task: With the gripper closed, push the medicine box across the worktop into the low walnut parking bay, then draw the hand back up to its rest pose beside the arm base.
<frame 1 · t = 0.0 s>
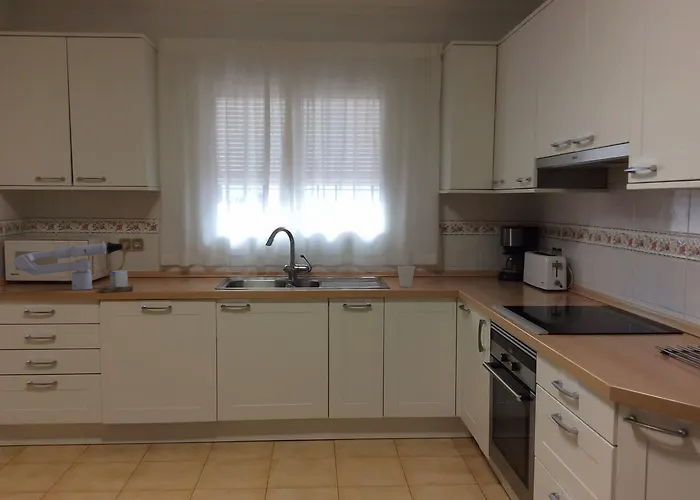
hand: (121, 246, 319), 22 cm above the countertop, tool horizontal, fingers open, 7 cm apart
cup: (405, 287, 327), on the countertop
parking bay: (118, 290, 311), on the countertop
medicine box: (119, 287, 321), on the countertop
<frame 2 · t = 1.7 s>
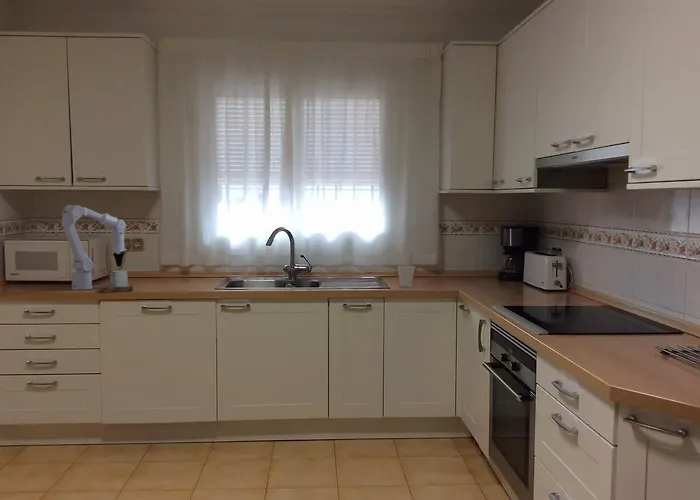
hand: (119, 265, 329), 10 cm above the countertop, tool pointing down, fingers open, 6 cm apart
nothing on the countertop moved.
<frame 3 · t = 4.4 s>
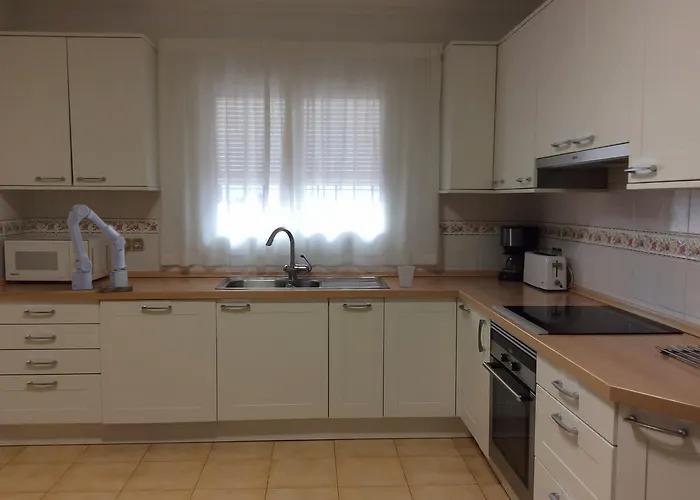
hand: (119, 282, 327), 2 cm above the countertop, tool pointing down, fingers closed
medicine box: (119, 287, 321), on the countertop, touching gripper
everything else where it was.
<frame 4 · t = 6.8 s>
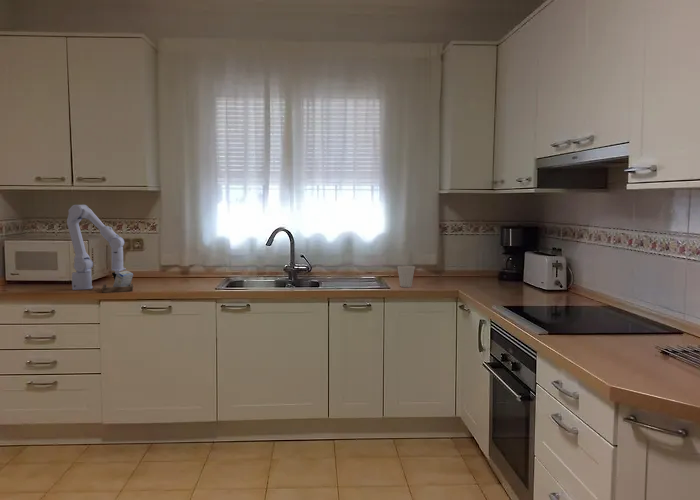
hand: (118, 285, 315), 2 cm above the countertop, tool pointing down, fingers closed, pressing on medicine box
medicine box: (121, 288, 313), point 1 cm above the countertop, touching gripper, parking bay
everything else where it was.
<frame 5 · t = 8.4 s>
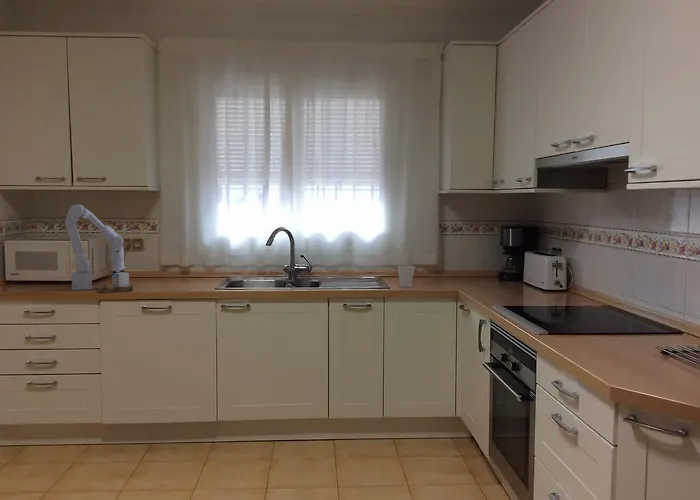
hand: (119, 284, 320), 2 cm above the countertop, tool pointing down, fingers closed
medicine box: (121, 290, 313), resting in parking bay
everything else where it was.
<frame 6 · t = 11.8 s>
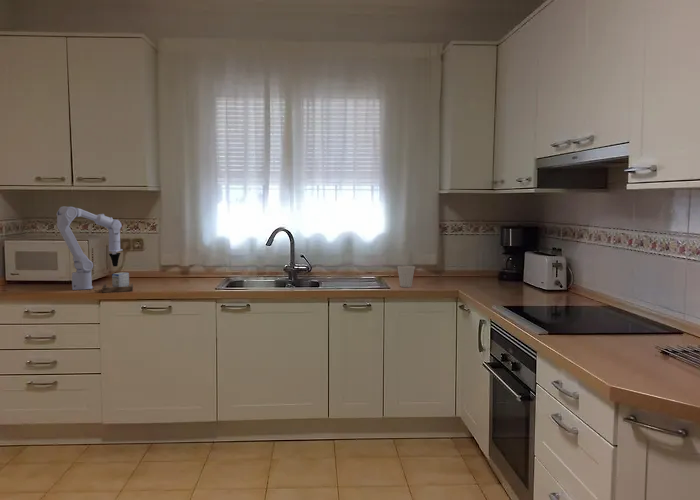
hand: (115, 266, 326), 10 cm above the countertop, tool pointing down, fingers closed
nothing on the countertop moved.
at the end: medicine box inside the target area on the parking bay (3.2 cm from its centre), point 0.0 cm above the parking bay's base; medicine box tilted 0°; the gripper is holding nothing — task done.
